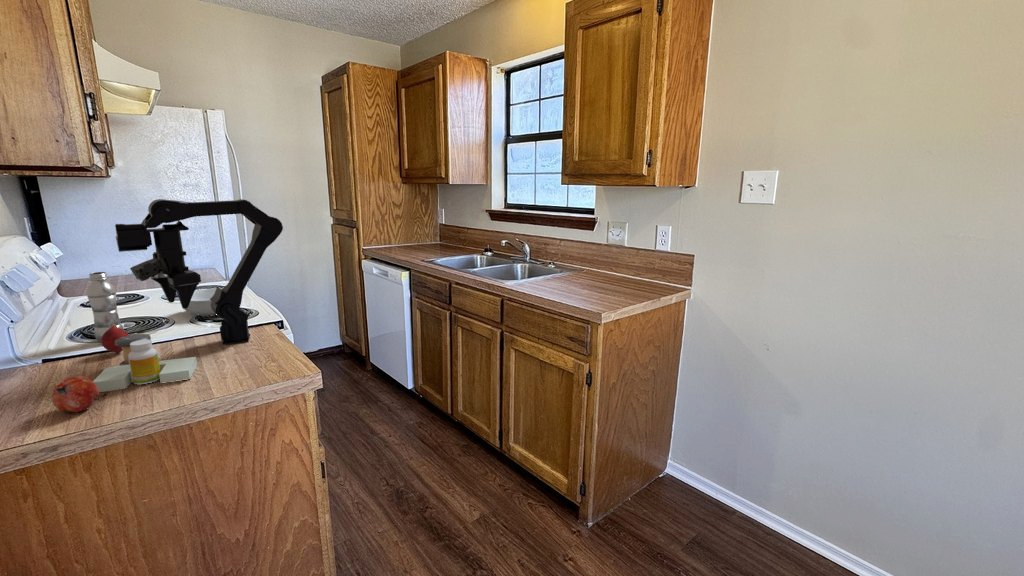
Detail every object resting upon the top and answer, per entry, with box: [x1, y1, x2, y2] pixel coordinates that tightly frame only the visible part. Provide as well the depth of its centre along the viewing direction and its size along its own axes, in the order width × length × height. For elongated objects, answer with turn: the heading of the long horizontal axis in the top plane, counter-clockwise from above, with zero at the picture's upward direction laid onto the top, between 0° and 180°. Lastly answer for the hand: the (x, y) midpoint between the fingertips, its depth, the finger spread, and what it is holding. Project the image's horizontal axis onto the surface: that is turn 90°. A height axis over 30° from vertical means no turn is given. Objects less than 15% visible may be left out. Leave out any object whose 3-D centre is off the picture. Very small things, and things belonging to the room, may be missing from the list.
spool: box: [115, 333, 152, 366], centre depth 118 cm, size 7×7×7 cm
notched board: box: [92, 356, 198, 393], centre depth 111 cm, size 18×9×2 cm, turn 114°
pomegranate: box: [51, 375, 100, 413], centre depth 96 cm, size 7×7×10 cm
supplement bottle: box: [128, 339, 161, 386], centre depth 109 cm, size 5×5×10 cm
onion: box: [100, 325, 130, 354], centre depth 125 cm, size 6×6×8 cm
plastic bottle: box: [85, 271, 125, 343], centre depth 132 cm, size 6×7×20 cm
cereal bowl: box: [184, 287, 224, 317], centre depth 161 cm, size 17×17×7 cm
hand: (178, 305), depth 125 cm, fingers open, 9 cm apart
